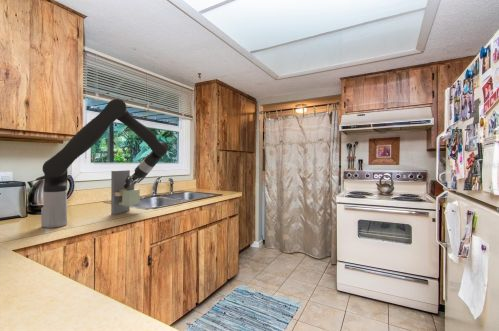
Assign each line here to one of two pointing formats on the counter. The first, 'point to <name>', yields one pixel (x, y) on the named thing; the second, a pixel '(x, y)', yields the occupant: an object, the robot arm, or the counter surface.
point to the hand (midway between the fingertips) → (127, 187)
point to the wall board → (116, 185)
